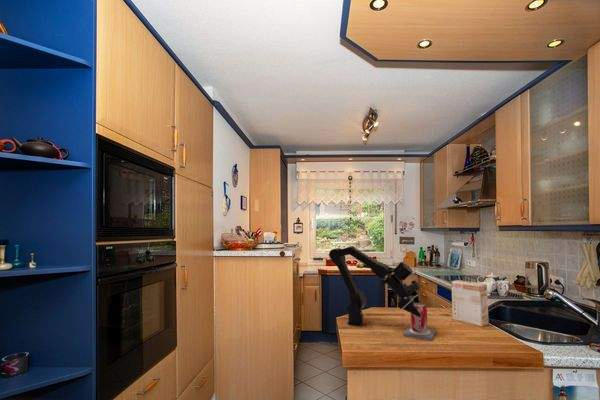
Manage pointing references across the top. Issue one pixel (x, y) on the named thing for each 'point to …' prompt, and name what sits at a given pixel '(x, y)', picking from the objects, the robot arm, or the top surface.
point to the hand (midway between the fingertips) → (422, 313)
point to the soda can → (419, 319)
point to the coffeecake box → (470, 302)
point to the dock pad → (420, 334)
